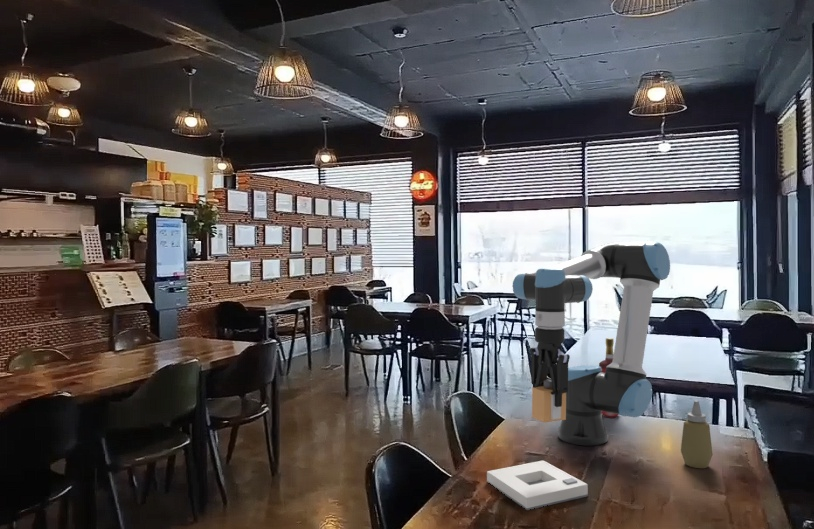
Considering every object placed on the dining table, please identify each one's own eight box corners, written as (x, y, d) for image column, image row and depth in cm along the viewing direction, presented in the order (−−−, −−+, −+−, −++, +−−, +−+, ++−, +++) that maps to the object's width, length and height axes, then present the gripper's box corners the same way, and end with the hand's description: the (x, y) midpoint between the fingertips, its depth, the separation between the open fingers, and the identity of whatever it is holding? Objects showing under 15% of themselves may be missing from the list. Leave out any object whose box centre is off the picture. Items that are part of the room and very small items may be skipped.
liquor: (599, 412, 218) (599, 336, 217) (620, 413, 215) (620, 337, 214) (598, 417, 211) (598, 340, 210) (620, 419, 208) (620, 340, 207)
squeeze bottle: (716, 471, 160) (716, 406, 160) (684, 469, 162) (684, 404, 161) (707, 460, 168) (707, 398, 168) (677, 459, 170) (677, 397, 169)
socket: (487, 482, 155) (486, 469, 155) (543, 471, 163) (543, 458, 162) (527, 510, 139) (526, 496, 139) (587, 496, 146) (587, 482, 146)
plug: (532, 417, 155) (532, 379, 155) (553, 414, 158) (554, 377, 158) (543, 422, 151) (544, 383, 151) (565, 419, 154) (566, 381, 153)
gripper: (517, 324, 161) (517, 408, 161) (559, 332, 144) (559, 426, 145) (540, 322, 164) (539, 406, 164) (584, 330, 147) (583, 423, 148)
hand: (548, 415), depth 155 cm, fingers closed on plug, 5 cm apart
